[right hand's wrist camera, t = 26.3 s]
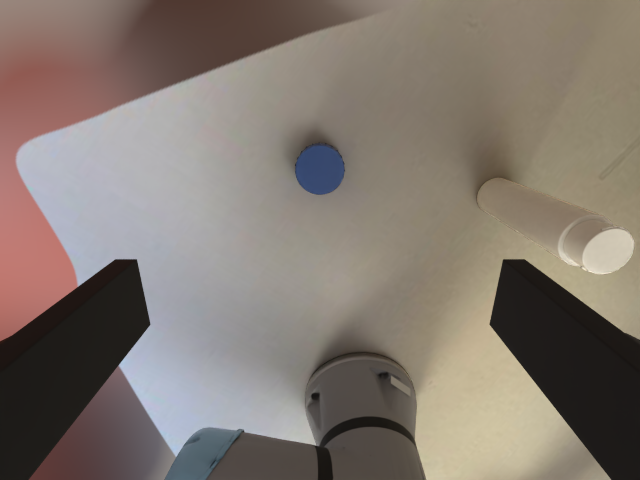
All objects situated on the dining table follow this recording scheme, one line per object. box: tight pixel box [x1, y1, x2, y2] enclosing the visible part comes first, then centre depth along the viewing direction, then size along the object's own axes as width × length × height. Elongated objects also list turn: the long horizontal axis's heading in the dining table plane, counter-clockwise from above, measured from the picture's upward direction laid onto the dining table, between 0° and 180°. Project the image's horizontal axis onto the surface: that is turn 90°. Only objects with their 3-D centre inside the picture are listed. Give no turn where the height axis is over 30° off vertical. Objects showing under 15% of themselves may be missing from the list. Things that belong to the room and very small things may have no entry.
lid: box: [295, 143, 345, 195], centre depth 36 cm, size 5×5×2 cm
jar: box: [477, 178, 635, 274], centre depth 31 cm, size 4×4×16 cm
